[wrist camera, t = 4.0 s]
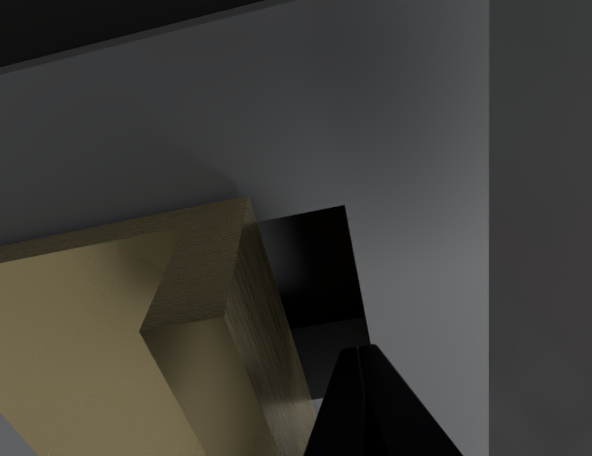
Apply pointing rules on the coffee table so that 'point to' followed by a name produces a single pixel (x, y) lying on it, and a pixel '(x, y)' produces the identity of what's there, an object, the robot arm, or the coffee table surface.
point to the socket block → (289, 163)
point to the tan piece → (151, 340)
